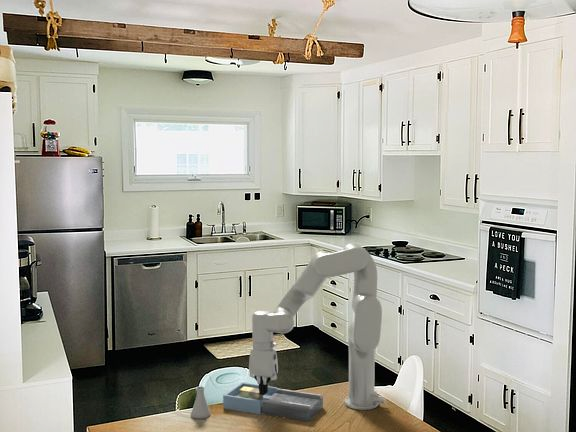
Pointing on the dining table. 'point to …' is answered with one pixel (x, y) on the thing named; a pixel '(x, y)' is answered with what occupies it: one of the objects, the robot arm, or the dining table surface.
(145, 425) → the dining table surface
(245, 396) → the olive yellow block
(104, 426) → the dining table surface
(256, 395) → the beige square block
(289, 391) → the slot block
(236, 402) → the tray
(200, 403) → the flask
